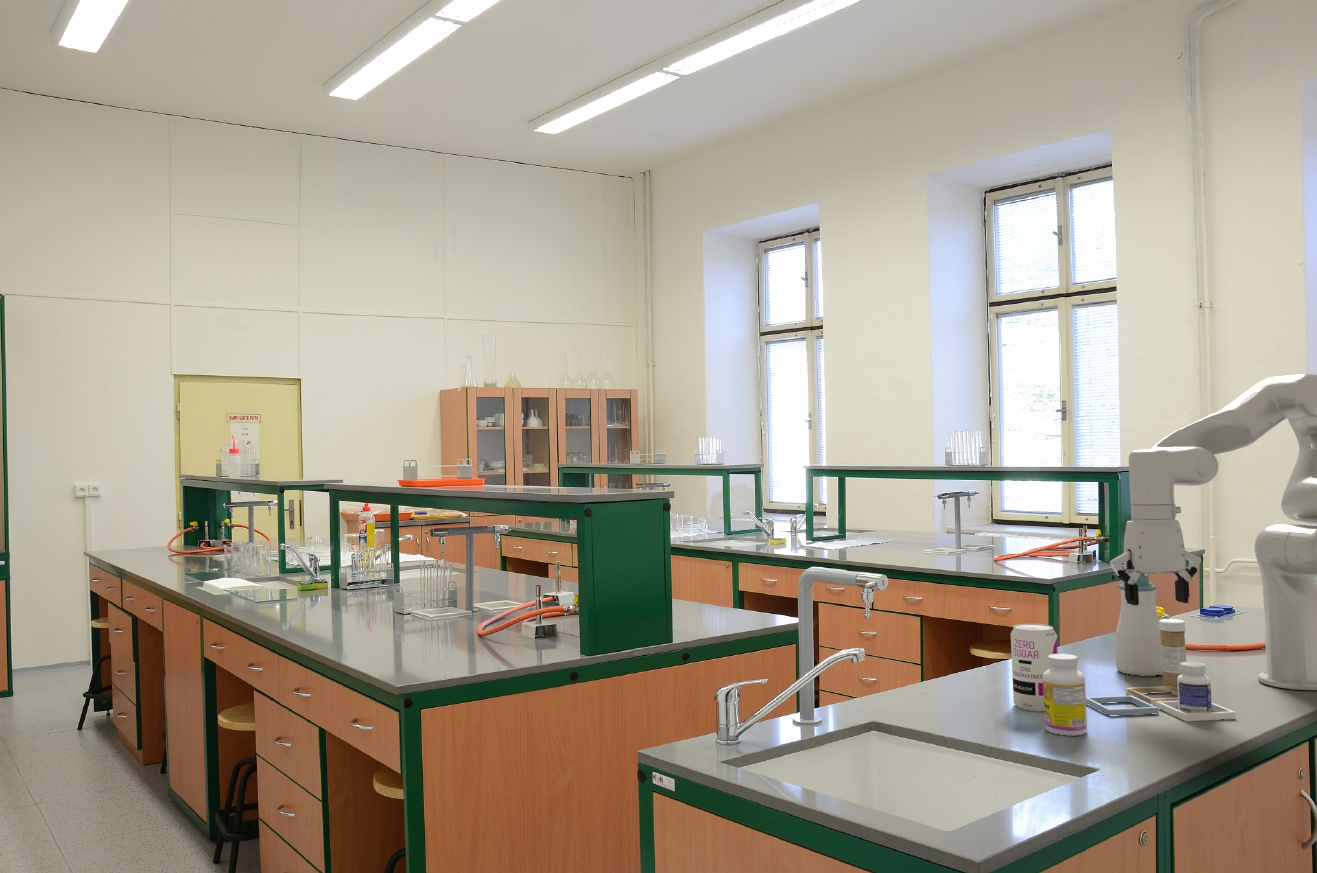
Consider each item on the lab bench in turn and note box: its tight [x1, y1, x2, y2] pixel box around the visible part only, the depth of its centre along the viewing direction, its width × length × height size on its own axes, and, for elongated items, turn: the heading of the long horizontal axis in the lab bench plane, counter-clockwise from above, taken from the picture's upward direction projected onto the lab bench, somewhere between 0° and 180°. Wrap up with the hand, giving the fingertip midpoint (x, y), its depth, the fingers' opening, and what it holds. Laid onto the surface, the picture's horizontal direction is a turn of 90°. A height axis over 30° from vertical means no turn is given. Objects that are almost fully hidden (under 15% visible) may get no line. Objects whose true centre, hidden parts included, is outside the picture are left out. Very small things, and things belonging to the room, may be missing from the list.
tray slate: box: [1086, 695, 1159, 717], centre depth 177 cm, size 9×9×1 cm
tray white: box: [1156, 701, 1236, 722], centre depth 172 cm, size 9×9×1 cm
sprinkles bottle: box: [1159, 618, 1187, 689], centre depth 191 cm, size 5×5×14 cm
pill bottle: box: [1177, 661, 1213, 714], centre depth 172 cm, size 5×5×9 cm
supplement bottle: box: [1043, 653, 1088, 737], centre depth 164 cm, size 7×7×13 cm
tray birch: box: [1125, 685, 1178, 705], centre depth 183 cm, size 9×9×1 cm
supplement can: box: [1010, 623, 1059, 713], centre depth 180 cm, size 8×8×15 cm
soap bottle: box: [1114, 574, 1163, 677], centre depth 205 cm, size 10×10×23 cm
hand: (1157, 603), depth 183 cm, fingers open, 9 cm apart
